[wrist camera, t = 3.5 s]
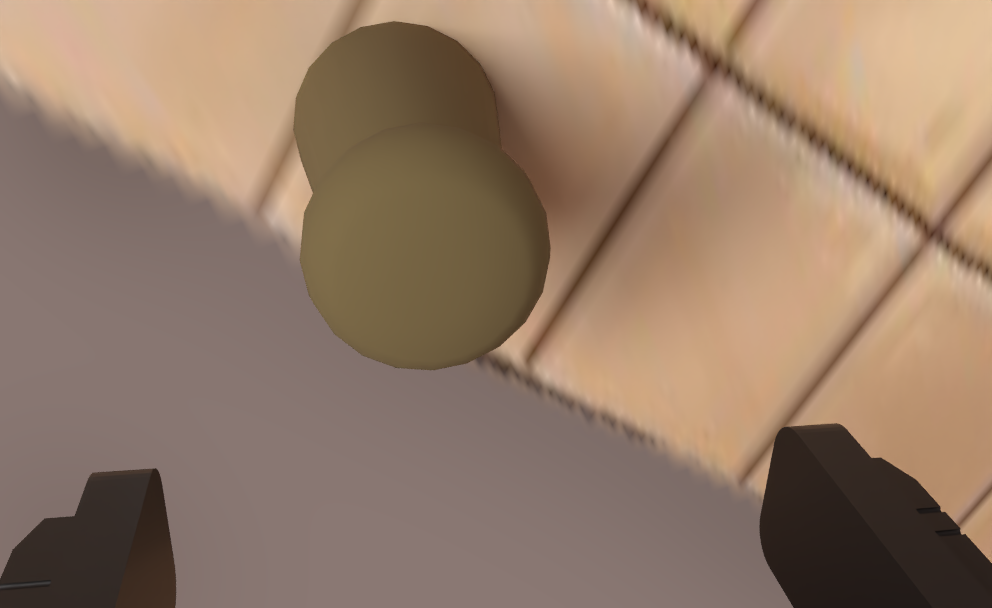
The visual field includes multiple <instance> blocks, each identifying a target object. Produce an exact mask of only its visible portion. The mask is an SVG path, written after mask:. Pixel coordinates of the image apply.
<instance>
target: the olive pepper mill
mask: <svg viewBox="0 0 992 608" xmlns="http://www.w3.org/2000/svg"><path fill="white" fill-rule="evenodd" d="M293 130H294V134H295V138H296V142H297V146H298V150H299V154H300V158H301V161H302V164H303V167H304V170H305V172H306V175H307V178H308V181H309V183H310V186H311V189H312V191H313V195H312V197H311V199H310V201H309V204H308V206H307V208H306V210H305V212H304V220H303V230H302V241H301V253H300V263H301V267H302V271H303V274H304V278H305V282H306V286H307V290H308V293H309V296H310V298H311V300H312V301H313V303H314V305H315V306H316V308H317V309H318V311H319V312H320V314H321V315H322V317H323V318H324V319H325V321H326V322H327V324H328V325H329V327H330V328H331V330H332V331H333V333H334V334H335V335H336V336H338V337H339V338H340V339H342V340H343V341H344V342H345V343H347V344H348V345H349V346H351V347H352V348H353V349H355V350H356V351H357V352H359V353H360V354H361V355H363V356H365V357H368V358H371V359H373V360H376V361H379V362H382V363H384V364H387V365H390V366H393V367H395V368H407V369H421V370H437V369H442V368H447V367H451V366H456V365H461V364H466V363H468V362H470V361H472V360H474V359H476V358H478V357H480V356H482V355H484V354H486V353H488V352H490V351H492V350H494V349H496V348H498V347H499V346H501V345H502V344H503V343H504V342H505V341H506V340H507V339H508V338H509V337H510V336H511V335H512V334H513V333H514V332H516V331H517V330H518V329H519V328H520V327H521V326H522V325H523V324H524V323H525V322H526V320H527V318H528V317H529V315H530V313H531V312H532V310H533V308H534V306H535V305H536V303H537V301H538V299H539V298H540V296H541V294H542V292H543V288H544V283H545V278H546V274H547V269H548V264H549V259H550V240H549V232H548V225H547V217H546V212H545V210H544V208H543V206H542V204H541V202H540V200H539V198H538V196H537V194H536V192H535V190H534V188H533V186H532V184H531V182H530V180H529V178H528V177H527V175H526V173H525V172H524V171H523V170H522V169H521V168H520V167H519V166H518V165H517V164H516V163H515V162H514V161H513V160H512V159H511V158H510V157H509V156H508V155H507V154H506V153H505V152H504V151H503V150H502V149H501V140H500V131H499V123H498V116H497V109H496V102H495V95H494V91H493V89H492V87H491V85H490V83H489V81H488V79H487V77H486V75H485V73H484V71H483V69H482V67H481V65H480V64H479V63H478V62H477V61H476V60H475V59H474V58H473V57H472V56H471V55H470V54H469V53H468V52H467V51H466V50H465V49H464V48H463V47H462V46H461V45H460V44H459V43H458V42H457V41H456V40H454V39H452V38H450V37H448V36H446V35H444V34H442V33H440V32H438V31H436V30H434V29H432V28H430V27H428V26H422V25H415V24H409V23H402V22H395V21H393V22H388V23H382V24H376V25H371V26H365V27H360V28H359V29H357V30H355V31H353V32H351V33H350V34H348V35H346V36H344V37H342V38H340V39H339V40H337V41H335V42H333V43H331V44H330V46H329V47H328V48H327V49H326V50H325V51H324V52H323V53H322V54H321V55H320V56H319V58H318V59H317V60H316V61H315V62H314V63H313V64H312V65H311V66H310V67H309V69H308V71H307V74H306V76H305V78H304V81H303V83H302V85H301V87H300V90H299V92H298V94H297V97H296V104H295V117H294V129H293Z"/></svg>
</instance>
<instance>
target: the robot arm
mask: <svg viewBox="0 0 992 608" xmlns="http://www.w3.org/2000/svg"><path fill="white" fill-rule="evenodd" d="M760 539H761V545H762V549H763V553H764V556H765V559H766V561H767V564H768V565H769V567H770V569H771V570H772V572H773V574H774V576H775V577H776V579H777V581H778V582H779V584H780V586H781V587H782V589H783V591H784V592H785V594H786V596H787V597H788V599H789V601H790V602H791V604H792V606H793V607H794V608H992V563H991V562H990V561H989V560H988V559H987V558H986V557H985V555H984V554H983V553H982V552H981V551H980V550H979V549H978V548H977V547H976V545H975V544H974V543H973V542H972V541H971V540H970V539H969V538H968V537H967V536H966V534H964V535H961V533H960V528H959V527H958V526H957V524H956V523H955V522H954V521H953V520H952V519H951V518H950V517H949V516H948V515H947V513H946V512H941V510H940V506H939V505H938V504H937V502H936V501H935V500H934V499H933V498H932V497H931V496H930V495H929V494H928V492H927V491H926V490H925V489H924V488H923V487H922V486H921V485H920V484H919V483H918V481H917V480H916V479H914V478H912V477H911V476H909V475H908V474H906V473H904V472H903V471H901V470H900V469H898V468H896V467H895V466H893V465H892V464H890V463H889V462H887V461H885V460H884V459H882V458H871V457H870V456H869V455H868V454H867V452H866V451H865V450H864V449H863V448H862V447H861V446H860V444H859V443H858V442H857V441H856V440H855V439H854V437H853V436H852V435H851V434H850V433H849V432H848V430H847V429H846V428H845V427H843V426H842V425H840V424H837V423H836V424H821V425H807V426H792V427H784V428H782V429H781V430H780V431H779V432H778V434H777V436H776V439H775V443H774V448H773V453H772V458H771V463H770V469H769V474H768V479H767V484H766V489H765V495H764V500H763V505H762V510H761V516H760ZM175 605H176V574H175V564H174V558H173V551H172V545H171V538H170V532H169V526H168V519H167V512H166V506H165V500H164V493H163V488H162V482H161V477H160V474H159V472H158V470H157V469H156V468H155V469H141V470H127V471H112V472H98V473H92V474H91V475H90V477H89V479H88V481H87V484H86V486H85V490H84V492H83V495H82V497H81V500H80V503H79V506H78V508H77V511H76V514H75V516H72V517H59V518H46V519H44V520H43V521H42V522H41V523H40V524H39V525H38V526H36V528H34V529H33V530H32V531H31V532H30V533H29V534H28V535H27V536H26V537H25V538H24V539H23V540H22V541H21V542H20V543H19V544H18V545H17V546H16V547H15V548H14V549H13V551H12V553H11V556H10V558H9V560H8V562H7V565H6V567H5V569H4V572H3V574H2V576H1V578H0V608H175Z"/></svg>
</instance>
